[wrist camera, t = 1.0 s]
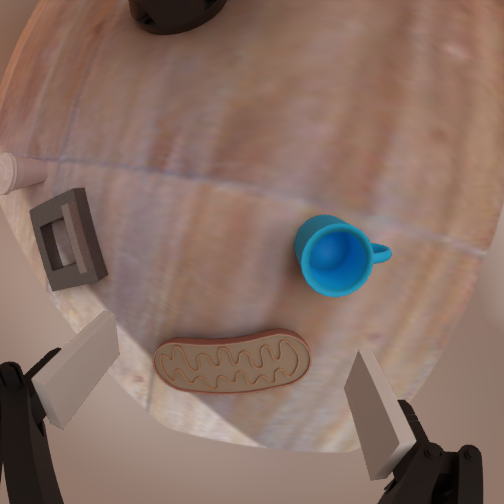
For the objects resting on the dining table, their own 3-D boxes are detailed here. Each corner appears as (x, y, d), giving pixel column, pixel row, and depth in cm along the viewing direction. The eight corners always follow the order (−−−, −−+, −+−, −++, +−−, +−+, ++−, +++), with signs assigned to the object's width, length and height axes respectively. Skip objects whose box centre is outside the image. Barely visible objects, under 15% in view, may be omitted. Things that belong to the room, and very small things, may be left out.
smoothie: (42, 145, 36) (-18, 142, 22) (58, 169, 37) (-4, 171, 23) (26, 174, 37) (-32, 179, 23) (41, 198, 38) (-19, 208, 24)
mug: (293, 274, 39) (299, 298, 31) (294, 214, 37) (301, 223, 29) (376, 273, 38) (399, 294, 30) (380, 215, 36) (406, 224, 28)
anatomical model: (305, 313, 40) (309, 329, 35) (309, 367, 42) (313, 386, 37) (156, 327, 42) (144, 343, 37) (173, 377, 44) (164, 395, 39)
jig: (40, 208, 38) (21, 212, 33) (84, 187, 37) (64, 189, 32) (62, 285, 41) (45, 295, 37) (108, 274, 40) (91, 285, 35)
